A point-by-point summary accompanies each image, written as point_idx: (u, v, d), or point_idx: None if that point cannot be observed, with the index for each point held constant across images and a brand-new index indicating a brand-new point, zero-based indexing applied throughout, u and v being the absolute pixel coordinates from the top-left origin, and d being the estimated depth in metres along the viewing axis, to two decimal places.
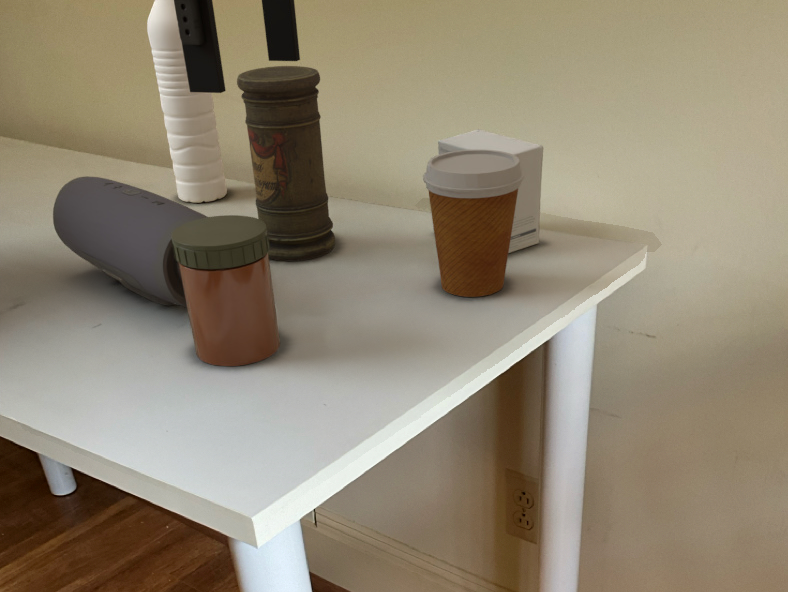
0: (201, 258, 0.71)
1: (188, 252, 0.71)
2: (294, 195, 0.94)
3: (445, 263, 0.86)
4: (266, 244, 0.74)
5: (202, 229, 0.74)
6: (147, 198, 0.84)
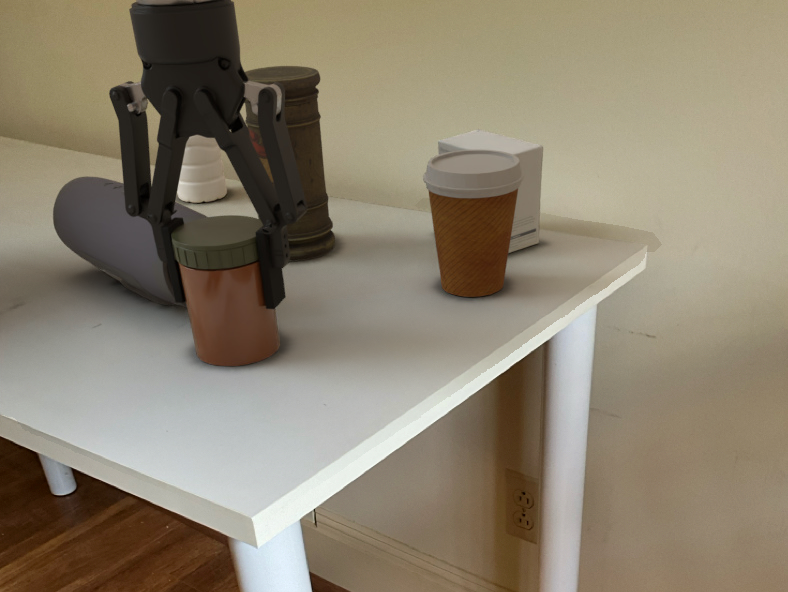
0: (201, 258, 0.71)
1: (189, 252, 0.71)
2: None
3: (445, 263, 0.86)
4: None
5: (202, 229, 0.74)
6: None
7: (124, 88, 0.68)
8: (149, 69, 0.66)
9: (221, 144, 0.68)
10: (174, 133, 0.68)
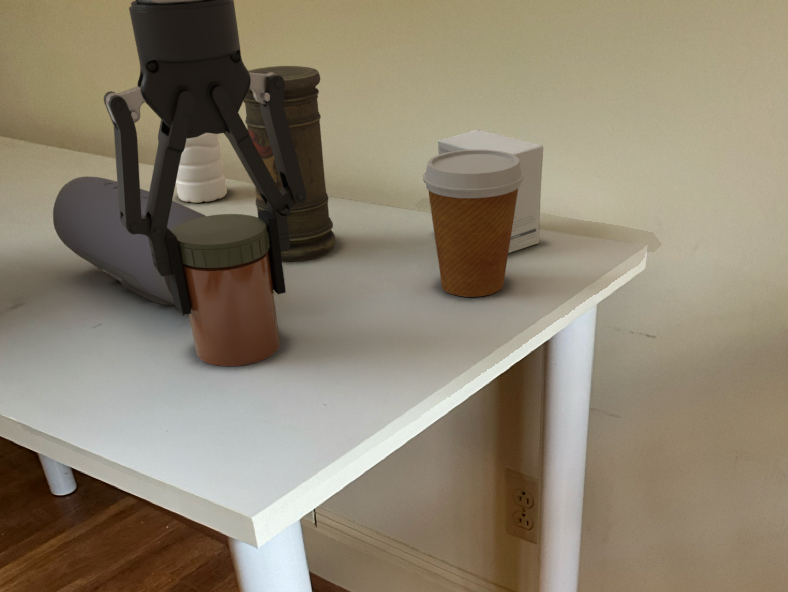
0: (236, 254, 0.71)
1: (221, 251, 0.71)
2: None
3: (445, 263, 0.86)
4: None
5: (202, 232, 0.73)
6: (147, 198, 0.84)
7: None
8: (156, 72, 0.65)
9: (238, 137, 0.69)
10: None
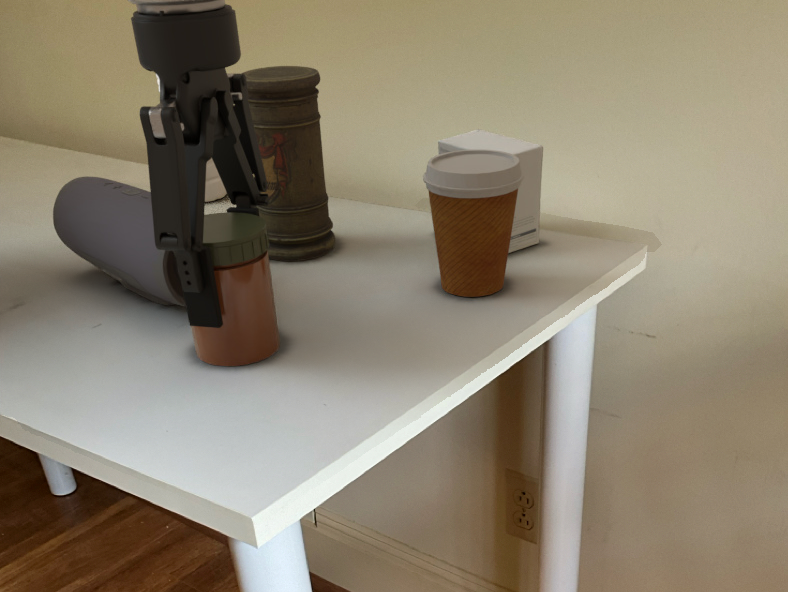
0: (263, 241, 0.73)
1: (256, 241, 0.72)
2: (294, 195, 0.94)
3: (445, 263, 0.86)
4: None
5: (211, 232, 0.72)
6: (147, 198, 0.84)
7: None
8: (188, 82, 0.64)
9: (237, 137, 0.71)
10: None
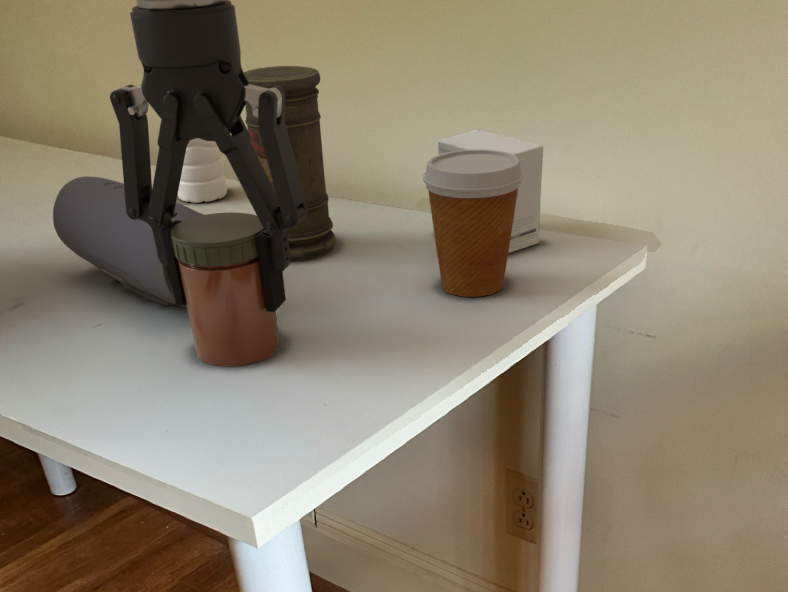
0: None
1: (256, 241, 0.72)
2: None
3: (445, 263, 0.86)
4: None
5: (211, 232, 0.72)
6: None
7: (125, 92, 0.68)
8: (150, 73, 0.66)
9: (222, 147, 0.68)
10: (175, 136, 0.68)
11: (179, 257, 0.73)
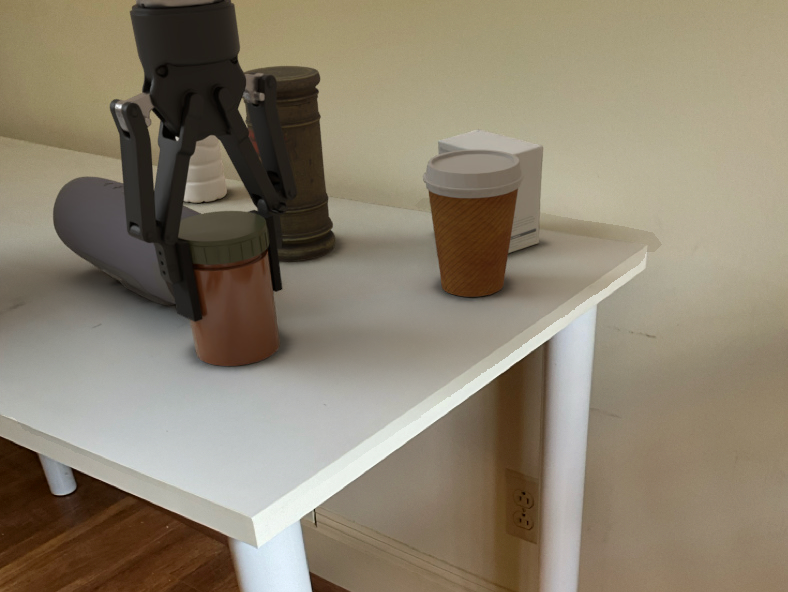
0: None
1: None
2: None
3: (445, 263, 0.86)
4: None
5: (229, 228, 0.73)
6: None
7: None
8: (166, 76, 0.64)
9: (240, 137, 0.70)
10: None
11: (218, 260, 0.71)
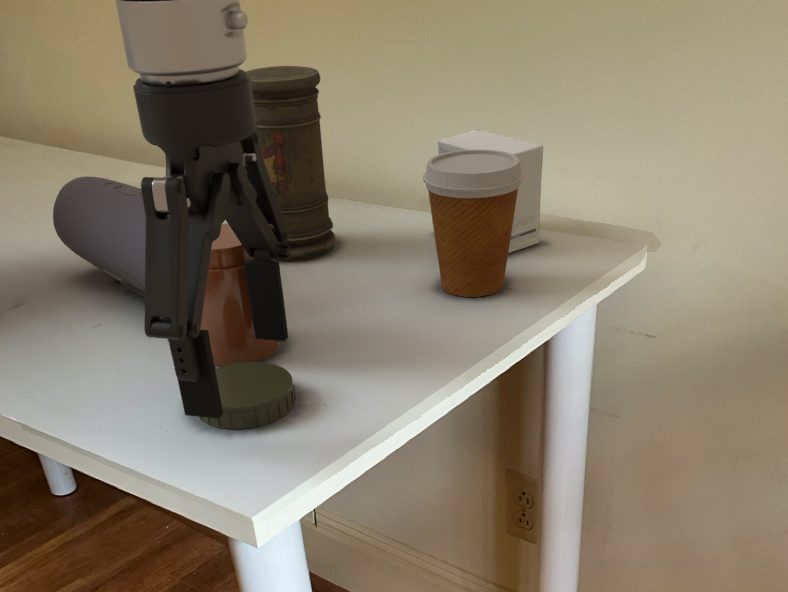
0: None
1: None
2: (294, 195, 0.94)
3: (445, 263, 0.86)
4: None
5: (260, 384, 0.70)
6: None
7: None
8: (198, 159, 0.57)
9: (253, 204, 0.64)
10: None
11: (269, 419, 0.69)
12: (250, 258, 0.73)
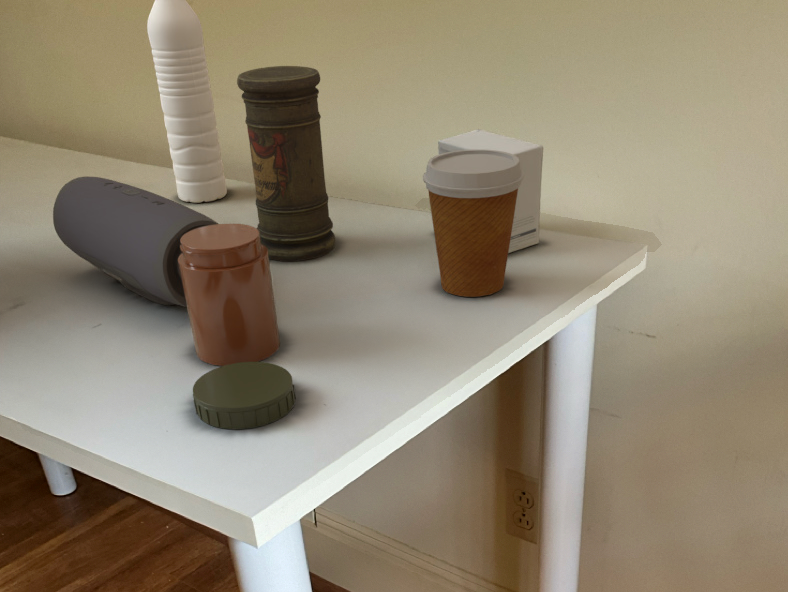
0: None
1: None
2: (294, 195, 0.94)
3: (445, 263, 0.86)
4: None
5: (260, 384, 0.70)
6: (147, 198, 0.84)
7: None
8: None
9: None
10: None
11: (269, 419, 0.69)
12: (250, 258, 0.73)
